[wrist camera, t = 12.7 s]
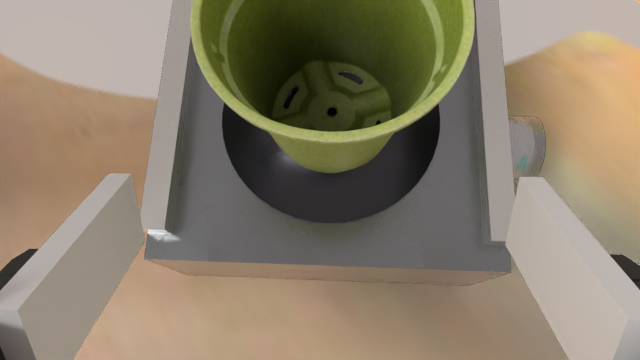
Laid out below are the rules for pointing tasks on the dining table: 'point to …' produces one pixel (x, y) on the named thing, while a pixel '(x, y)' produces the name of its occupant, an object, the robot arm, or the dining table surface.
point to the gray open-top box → (337, 183)
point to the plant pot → (332, 68)
